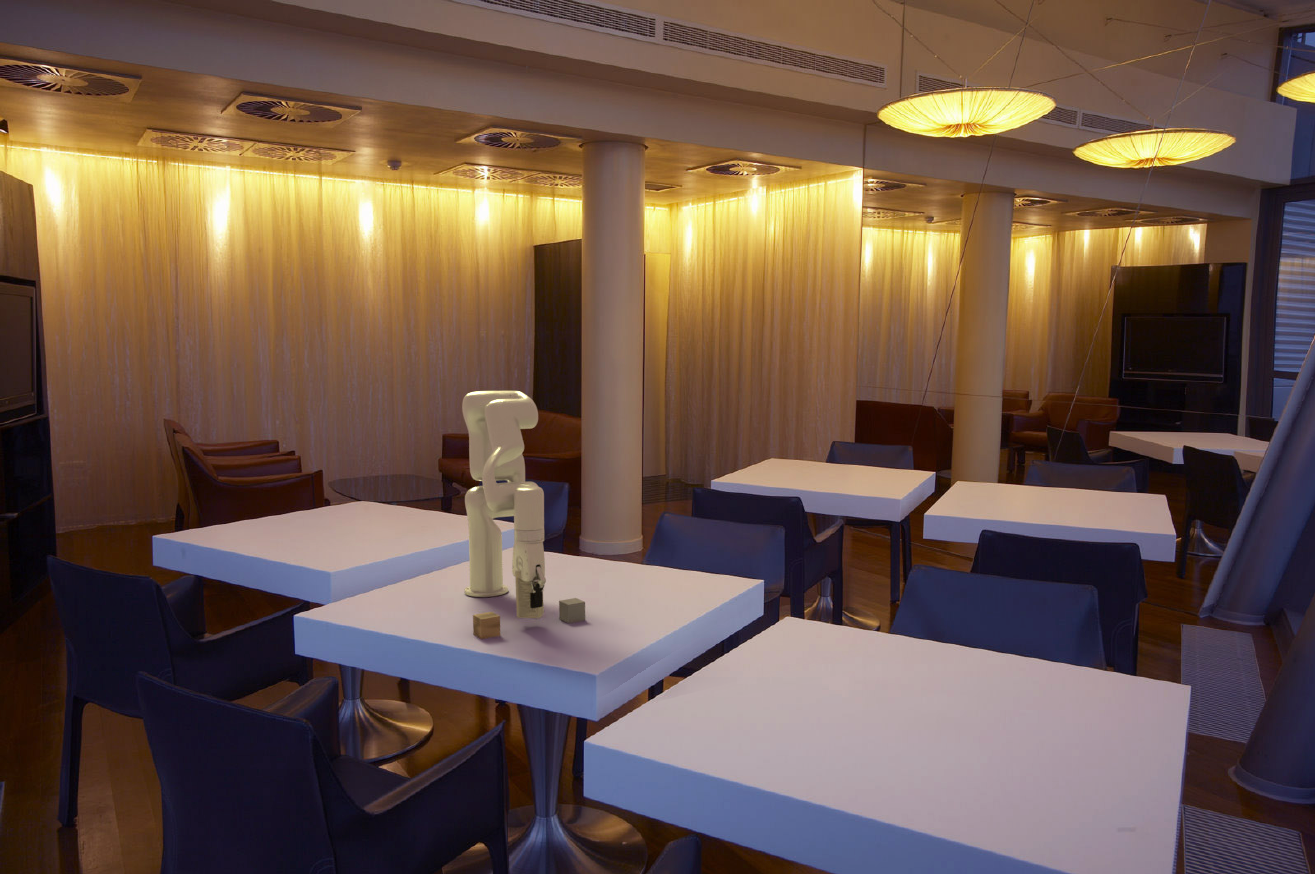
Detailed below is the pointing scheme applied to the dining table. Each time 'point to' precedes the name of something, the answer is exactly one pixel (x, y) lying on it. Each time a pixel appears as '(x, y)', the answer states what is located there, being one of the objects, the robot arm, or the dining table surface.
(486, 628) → the walnut block
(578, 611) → the grayish brown block
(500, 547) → the robot arm
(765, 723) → the dining table surface
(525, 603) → the skincare box
